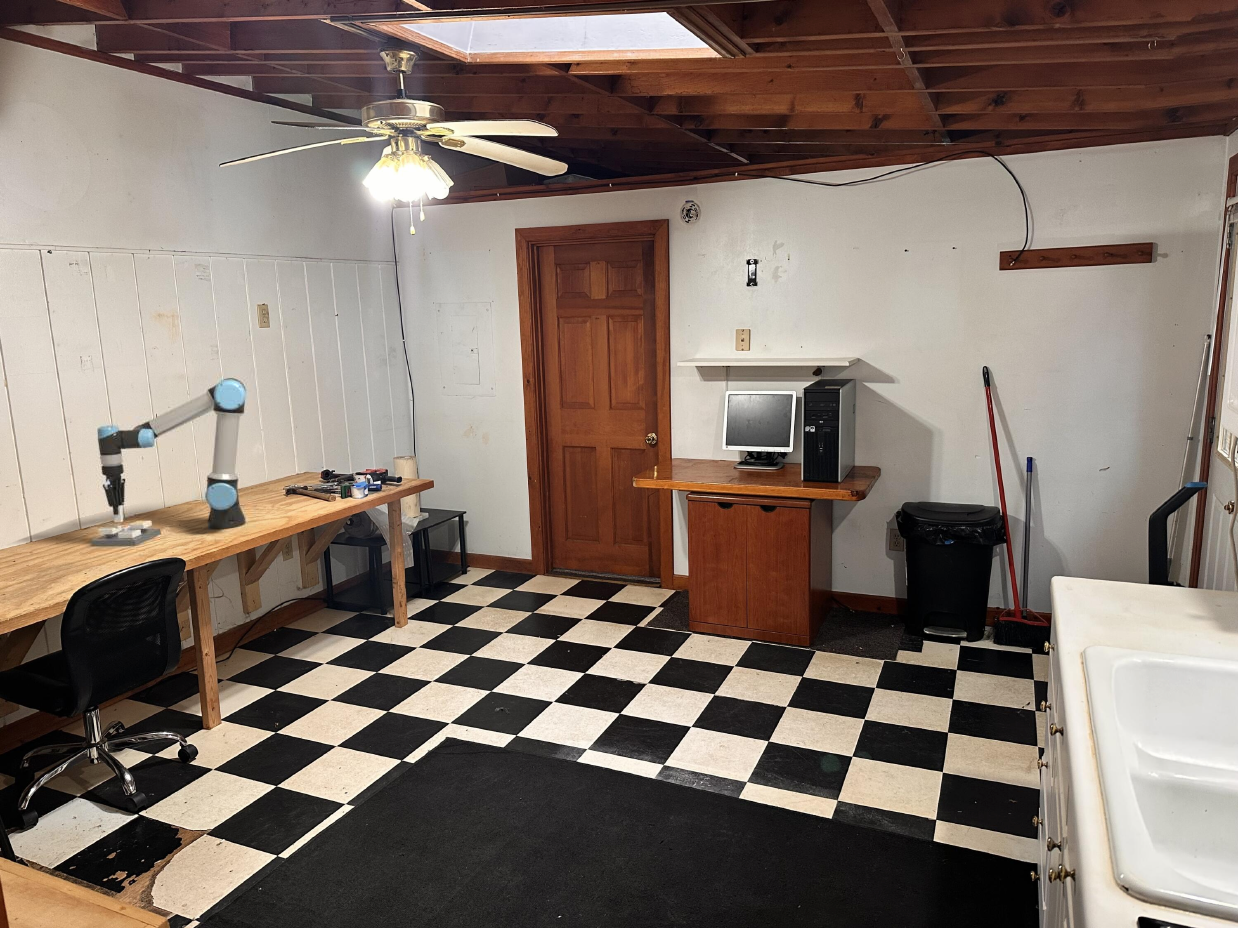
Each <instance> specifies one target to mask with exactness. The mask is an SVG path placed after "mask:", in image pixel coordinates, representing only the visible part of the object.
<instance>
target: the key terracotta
mask: <svg viewBox="0 0 1238 928" xmlns="http://www.w3.org/2000/svg"><path fill="white" fill-rule="evenodd" d="M118 526H121V529H122V531H119V532H117V533H121V532H123V531H125V530H134V529H130V524H119V525H118Z"/></svg>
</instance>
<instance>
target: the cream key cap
mask: <svg viewBox="0 0 1238 928" xmlns="http://www.w3.org/2000/svg"><path fill="white" fill-rule="evenodd" d="M129 525H130V529H137V530H141V533H143V532H145V531H146V529H148V528H149V527H151V526H153V523H152V520H136V521H135V522H132V523H129Z"/></svg>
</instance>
